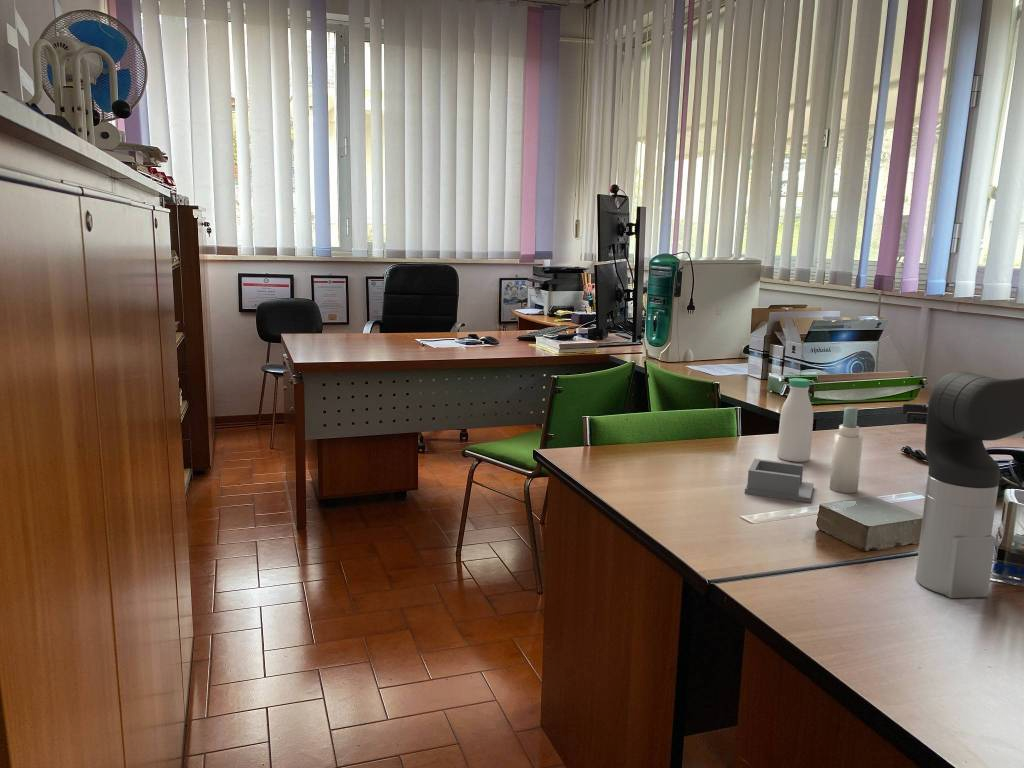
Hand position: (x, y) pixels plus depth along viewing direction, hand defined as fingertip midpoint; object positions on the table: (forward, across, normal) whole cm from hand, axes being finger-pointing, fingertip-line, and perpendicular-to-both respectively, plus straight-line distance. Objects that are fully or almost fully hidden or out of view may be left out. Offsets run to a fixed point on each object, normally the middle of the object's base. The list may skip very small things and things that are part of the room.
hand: (904, 412), depth 154 cm
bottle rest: (+24, -7, -17) cm, 30 cm away
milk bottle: (+22, +21, -18) cm, 35 cm away
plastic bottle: (+10, 0, -18) cm, 21 cm away
